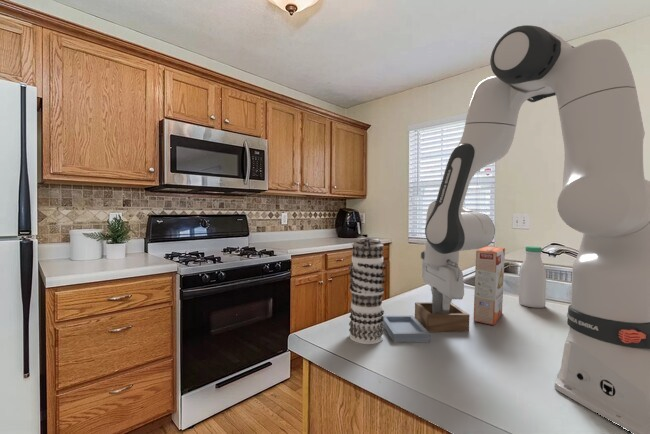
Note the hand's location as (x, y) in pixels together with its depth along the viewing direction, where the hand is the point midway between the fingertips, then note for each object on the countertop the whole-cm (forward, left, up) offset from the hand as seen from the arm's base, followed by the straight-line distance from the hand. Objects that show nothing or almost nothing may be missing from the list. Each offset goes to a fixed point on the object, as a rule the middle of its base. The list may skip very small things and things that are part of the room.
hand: (440, 306), depth 90 cm
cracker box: (+5, -17, -5) cm, 19 cm away
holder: (0, 0, -5) cm, 5 cm away
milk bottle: (+17, -39, -5) cm, 43 cm away
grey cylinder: (0, 0, -5) cm, 5 cm away
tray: (-5, +12, -5) cm, 14 cm away
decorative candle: (-9, +23, -5) cm, 25 cm away
